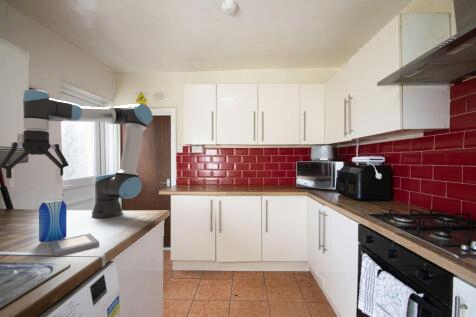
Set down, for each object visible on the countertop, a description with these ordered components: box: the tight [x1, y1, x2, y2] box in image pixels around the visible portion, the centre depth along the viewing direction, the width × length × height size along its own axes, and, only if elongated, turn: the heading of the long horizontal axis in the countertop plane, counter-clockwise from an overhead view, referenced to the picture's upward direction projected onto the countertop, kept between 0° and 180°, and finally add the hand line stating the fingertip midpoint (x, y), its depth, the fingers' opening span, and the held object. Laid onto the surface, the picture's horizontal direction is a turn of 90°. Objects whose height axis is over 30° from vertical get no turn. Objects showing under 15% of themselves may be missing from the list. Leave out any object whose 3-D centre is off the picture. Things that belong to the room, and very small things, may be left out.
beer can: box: [38, 198, 68, 246], centre depth 90 cm, size 8×8×16 cm
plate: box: [49, 233, 100, 257], centre depth 85 cm, size 13×13×2 cm
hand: (36, 185), depth 89 cm, fingers open, 13 cm apart
